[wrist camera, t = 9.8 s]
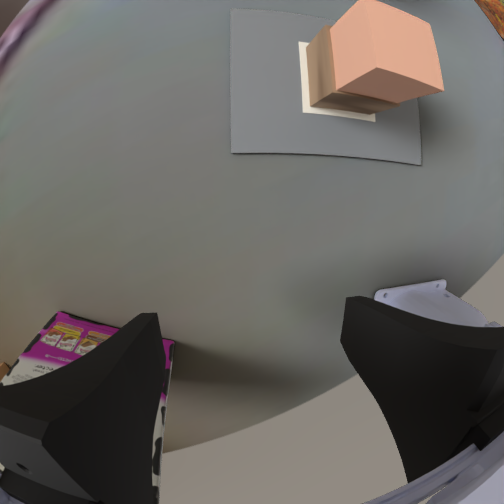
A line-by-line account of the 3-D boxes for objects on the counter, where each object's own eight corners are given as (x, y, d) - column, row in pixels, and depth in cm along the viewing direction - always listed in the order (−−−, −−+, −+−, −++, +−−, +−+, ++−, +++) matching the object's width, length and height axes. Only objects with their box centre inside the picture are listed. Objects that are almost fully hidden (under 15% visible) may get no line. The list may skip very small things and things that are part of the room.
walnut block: (364, 59, 16) (391, 42, 13) (369, 114, 18) (400, 106, 14) (305, 47, 16) (325, 24, 12) (309, 106, 17) (332, 92, 13)
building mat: (406, 44, 17) (409, 43, 16) (418, 165, 20) (421, 165, 19) (230, 11, 15) (230, 7, 14) (231, 153, 18) (231, 152, 17)
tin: (452, -25, 13) (485, -41, 5) (456, -28, 12) (488, -42, 4) (510, 53, 17) (546, 48, 9) (512, 47, 17) (546, 42, 9)
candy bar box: (62, 353, 20) (-10, 485, 5) (57, 308, 19) (-47, 443, 3) (172, 382, 22) (159, 551, 7) (177, 339, 21) (157, 538, 6)
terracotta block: (389, 45, 13) (429, 23, 8) (397, 103, 14) (444, 90, 10) (329, 29, 12) (363, -5, 8) (336, 90, 13) (376, 67, 9)
